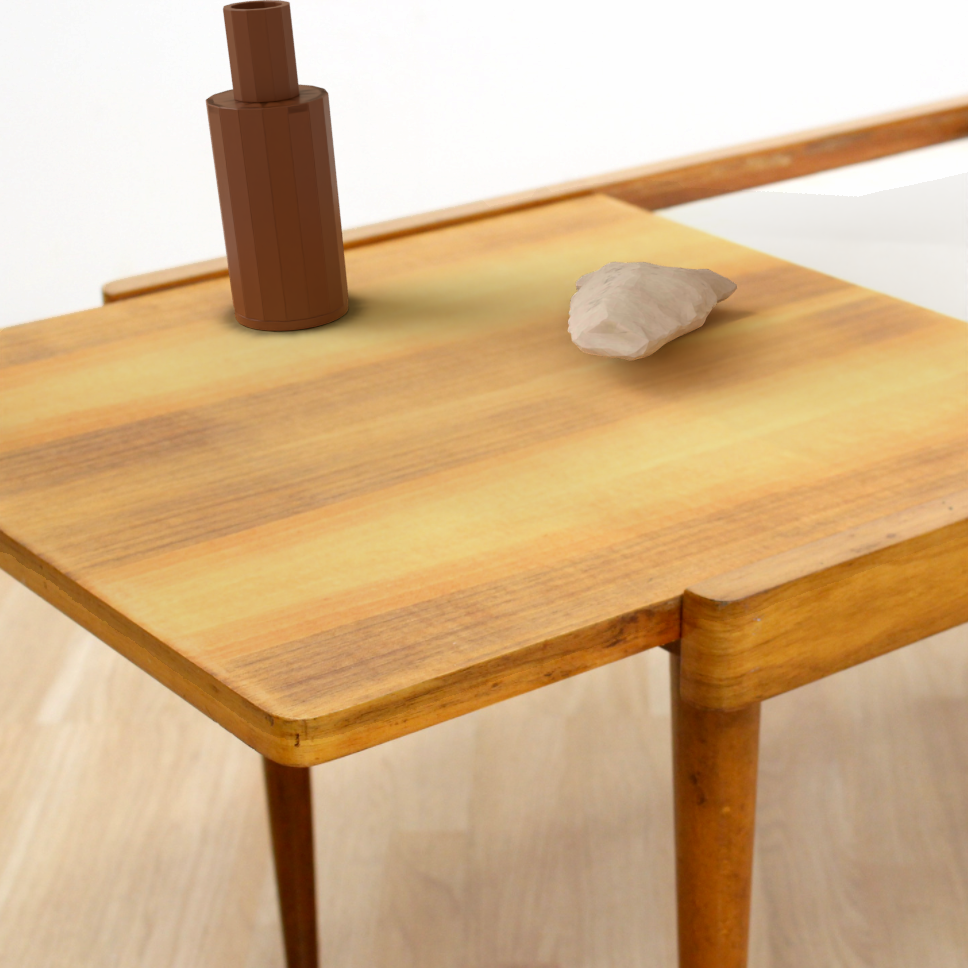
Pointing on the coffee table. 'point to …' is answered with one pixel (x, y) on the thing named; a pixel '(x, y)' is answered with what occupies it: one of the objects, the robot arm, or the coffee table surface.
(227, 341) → the coffee table surface
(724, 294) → the decorative stone
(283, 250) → the bottle
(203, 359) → the coffee table surface
